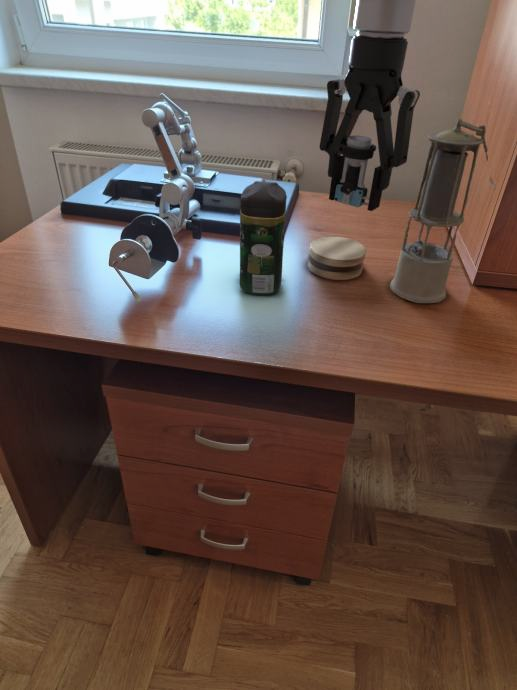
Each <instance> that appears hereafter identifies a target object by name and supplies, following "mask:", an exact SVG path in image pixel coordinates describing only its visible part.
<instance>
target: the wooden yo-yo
mask: <svg viewBox="0 0 517 690" xmlns="http://www.w3.org/2000/svg"><path fill="white" fill-rule="evenodd" d="M366 253H367V249H366V247H365V245H363V244H362V243H360V242H359V241H356V240H355V239H351V238H347V237H343V236H323V237H318V238H316V239H314V240H313V241H311V243H310V245H309V249H308V255H307V259H308V263H307V267H308V269H309V270H310V272H311V273H313V274H314V275H316V276H318V277H320V278H323V279H326V280H327V279H328V280H334V281H349V280H353V279H355V278H358V277H359V276H361V275H362V273H363V269H364V261H365V259H366Z"/></svg>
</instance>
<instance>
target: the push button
mask: <svg viewBox="0 0 517 690" xmlns="http://www.w3.org/2000/svg"><path fill="white" fill-rule="evenodd" d="M372 141H373V139H372V138H371V137H368V136H364V135H350V136H349V137H348V141H345V142H343V143H341V147H342V152H341V156H342V155H343V156H344V157H345V162H344V168H343V175H342V179H341V180H340V182H342V183H340V184H338V185H337V186H336V191H335V197H334V200H333V201H335V202H338V203H341V204H343V205H346V206H352V207H354V208H355V207H356V208H361V207H362V206H368V204H369V202H366V200H368V201H369V198H370V197H369V196H368V191H369V190H368V187H365V186H366V185H365V184H364V183H365V182H364V181H365V177H366V172H367V167H368V161H369V160H370V159H373V157H374V153H375V152H376V151H377V146H376V144H373V143H372Z"/></svg>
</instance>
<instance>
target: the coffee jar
mask: <svg viewBox="0 0 517 690" xmlns="http://www.w3.org/2000/svg"><path fill="white" fill-rule="evenodd" d="M287 198H288V195H287V191H286V190H285V189H284V187H283V186H281V185H280V184H279V183H278V182H273V181H261V180H260V181H258V180H256V181H254V182H253V183H251V184H249V185H247V186H246V187H245V188H244V189H243V191H242V193H241V194H240V207H239V287H240V289H241V290H242V291H243V292H245V293H248V294H251V295H255V296H266V295H267V296H268V295H273V294H276V293H277V292H278V291H279V290H280V288H281V286H282V277H283V258H284V245H285V229H286V215H287V214H286V213H287V200H288V199H287Z"/></svg>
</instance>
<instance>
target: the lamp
mask: <svg viewBox="0 0 517 690" xmlns="http://www.w3.org/2000/svg"><path fill="white" fill-rule="evenodd" d="M462 128H465V129H467V130H470V131H472V132H475V136H474V134H472V133H469V132H466V131H464V130H462ZM486 132H487V128H486V126H485V125H484V124H482V125H478V126H476V125H474V124H471V123H470V122H466V121H464V120H463V119H462V118H458V119H457V121H456V124H455V126H454V128H453V129H447V130H444V131H441V132H433V133H430V134H428V135H427V139H428V140H429V141H430V143H431V144H430V146H429V148H428V153H427V157H426V162H425V166H424V170H423V175H422V178H421V180H420V184H419V190H418V195H417V198H416V202H415V206H414V207H413V208H411V209H410V210H409V211H408V216H409V219H408V221H407V227H406V229H405V233H404V236H403V240H402V246H401V249H400V251H399V258H398V261H397V266H396V270H395V273H394V277H393V278H392V280H391V281H390V286H389V288H390V290H391V292H393V293H394V294H395V295H396V296H397V297H399V298H401V299H403V300H407V301H410V302H413V303H416V304H435V303H436V304H437V303H441V302H443V300H445V299H446V298H447V291H446V286H447V281H448V278H449V274H450V270H451V266H452V263H453V259H454V254H453V250H454V247H455V243H456V239H457V232H458V230H459V227H460V226H461V225H462V224H463V223H464V222H465V218H464V216H465V208H466V206H467V203H468V198H469V192H470V188H471V183H472V180H473V175H474V172H475V168H476V162H477V159H478V154H479V149H480V146H481V144H482V147H483V149H484V154H485V158H486V161H487V162H488V161H489V157H488V156H489V155H488V153H487V152H488V146H487V141H486V134H487V133H486ZM477 136H478V137H477ZM468 152H472V153H473V157H472V161H471V167H470V172H469V175H468V181H467V184H466V190H465V193H464V198H463V204H462V208H461V212H460V213H458V212H457V211H455V207H456V202H457V198H458V195H459V191H460V187H461V183H462V179H463V175H464V171H465V167H466V161H467V158H468V156H469V153H468ZM490 172H492V170H490ZM489 182H490V184H491V186H492V189H493V190H494V191H495V190H496V185H495V183H494V181H493V179H492V177H491V175H489ZM412 219H413V221H415V222H417V223H420V224H421V226H420V230H419V234H418V238H417V240H416V241H413V242H409V243H407V241H408V236H409V234H408V233H409V231H410V225H411V221H412ZM424 226H426V234H425V238H424V241H423V240H421V238H422V235H423V230H424ZM433 227H439V228H442V227H443V228H448V232H447V236H446V239H445V242H444V244H443V246H441V245H438V244H436V243H430V242H428V239H429V235H430V232H431V229H432V228H433ZM453 227H456V228H455V231H454V235H453V237H452V240H451V243H450V246H449V247H448V245H449V242H450V239H451V235H452V231H453Z"/></svg>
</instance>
